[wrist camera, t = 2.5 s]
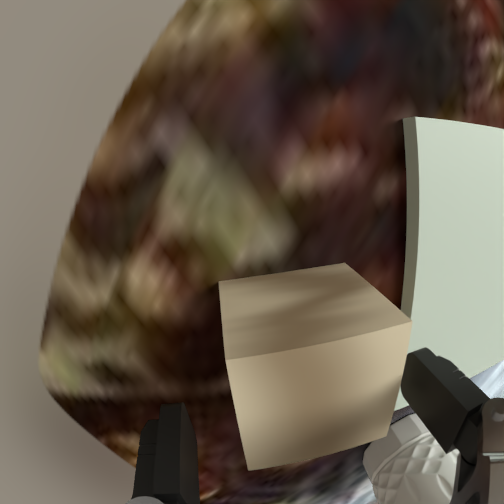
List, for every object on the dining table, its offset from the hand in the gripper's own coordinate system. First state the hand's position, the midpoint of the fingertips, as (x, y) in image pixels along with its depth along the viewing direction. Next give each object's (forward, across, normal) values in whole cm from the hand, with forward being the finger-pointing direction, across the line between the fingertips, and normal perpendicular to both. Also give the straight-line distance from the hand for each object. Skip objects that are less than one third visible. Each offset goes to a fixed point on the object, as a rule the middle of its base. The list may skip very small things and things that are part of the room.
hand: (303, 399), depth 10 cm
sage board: (+4, -14, -1) cm, 15 cm away
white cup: (+4, -9, +13) cm, 16 cm away
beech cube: (+5, 0, 0) cm, 5 cm away
